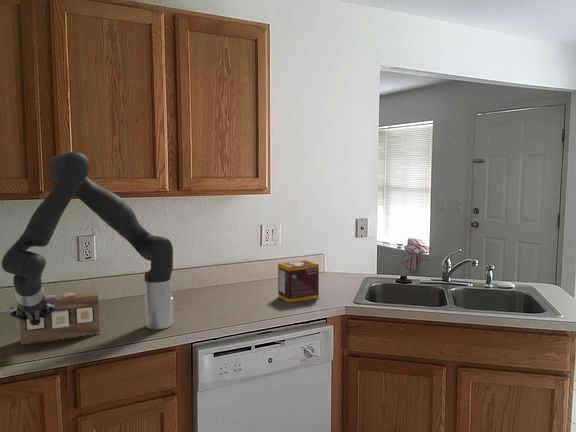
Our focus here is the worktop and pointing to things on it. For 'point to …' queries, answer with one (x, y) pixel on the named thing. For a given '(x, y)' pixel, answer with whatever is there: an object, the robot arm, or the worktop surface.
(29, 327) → the slate key
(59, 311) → the sage key
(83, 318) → the terracotta key
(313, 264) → the supplement box
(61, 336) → the keypad panel
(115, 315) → the worktop surface
